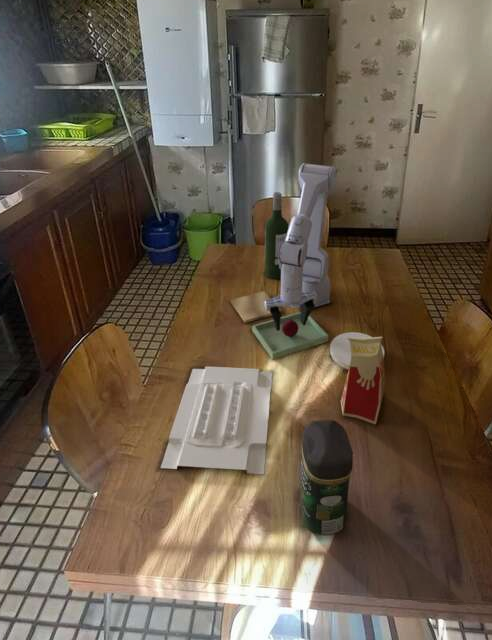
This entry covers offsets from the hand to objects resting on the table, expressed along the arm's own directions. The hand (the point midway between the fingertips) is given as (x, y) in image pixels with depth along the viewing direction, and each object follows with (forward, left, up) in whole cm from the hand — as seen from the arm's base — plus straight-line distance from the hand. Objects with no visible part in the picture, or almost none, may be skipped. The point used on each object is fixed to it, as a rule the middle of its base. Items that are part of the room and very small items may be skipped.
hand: (290, 325), depth 121 cm
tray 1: (+26, +18, -4) cm, 32 cm away
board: (+3, -17, -4) cm, 18 cm away
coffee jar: (+18, +46, -4) cm, 50 cm away
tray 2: (0, 0, -4) cm, 4 cm away
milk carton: (-3, +29, -4) cm, 29 cm away
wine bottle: (-12, -33, -4) cm, 35 cm away
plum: (0, 0, -1) cm, 1 cm away
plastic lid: (-12, +15, -4) cm, 20 cm away
